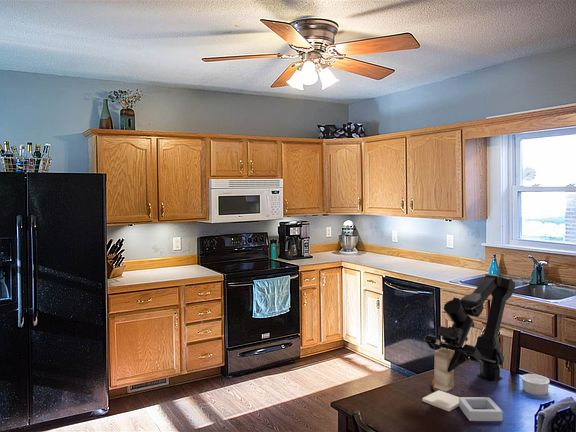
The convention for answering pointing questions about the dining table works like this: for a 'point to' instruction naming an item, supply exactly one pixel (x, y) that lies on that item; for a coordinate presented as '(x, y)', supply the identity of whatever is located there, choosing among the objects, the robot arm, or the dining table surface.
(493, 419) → the holder
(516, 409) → the dining table surface
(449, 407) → the tile
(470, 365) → the dining table surface
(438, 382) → the peg
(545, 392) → the ramekin
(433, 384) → the pastry
